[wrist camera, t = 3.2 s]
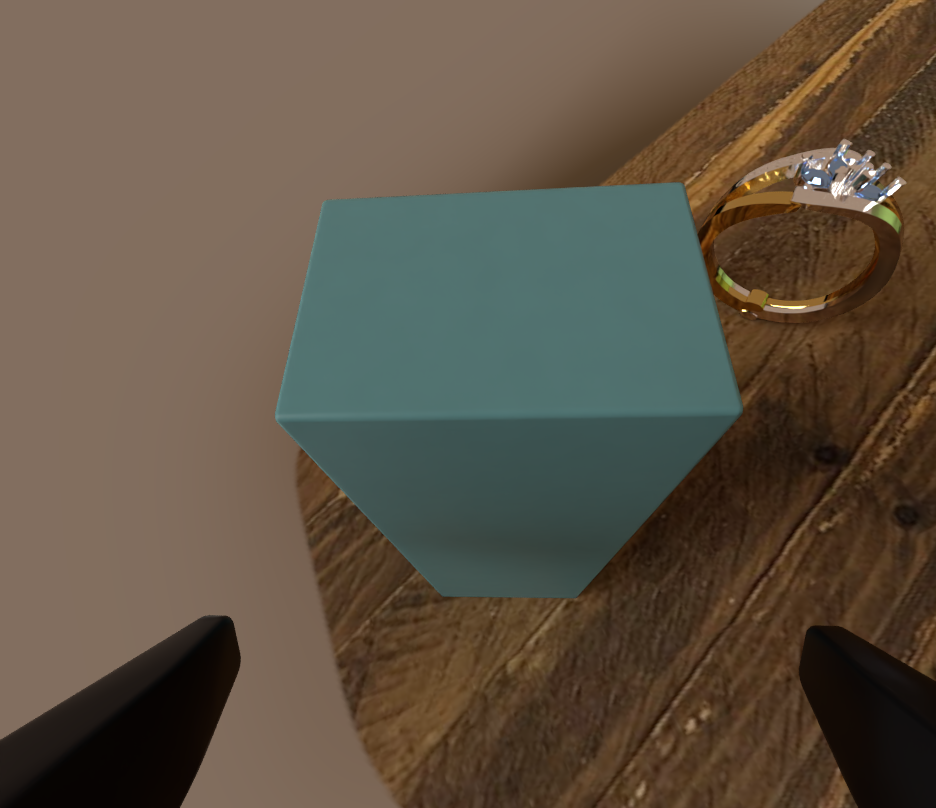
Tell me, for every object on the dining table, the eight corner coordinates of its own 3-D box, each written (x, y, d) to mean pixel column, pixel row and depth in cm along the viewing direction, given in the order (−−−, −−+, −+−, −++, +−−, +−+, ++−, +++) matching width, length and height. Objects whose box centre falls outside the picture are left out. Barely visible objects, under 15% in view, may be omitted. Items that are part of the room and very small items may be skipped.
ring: (837, 317, 23) (981, 161, 16) (817, 368, 22) (963, 224, 15) (689, 262, 25) (758, 104, 18) (664, 307, 24) (727, 156, 17)
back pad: (577, 598, 18) (748, 412, 5) (441, 596, 19) (270, 420, 5) (570, 504, 20) (685, 179, 7) (445, 504, 20) (321, 197, 7)
